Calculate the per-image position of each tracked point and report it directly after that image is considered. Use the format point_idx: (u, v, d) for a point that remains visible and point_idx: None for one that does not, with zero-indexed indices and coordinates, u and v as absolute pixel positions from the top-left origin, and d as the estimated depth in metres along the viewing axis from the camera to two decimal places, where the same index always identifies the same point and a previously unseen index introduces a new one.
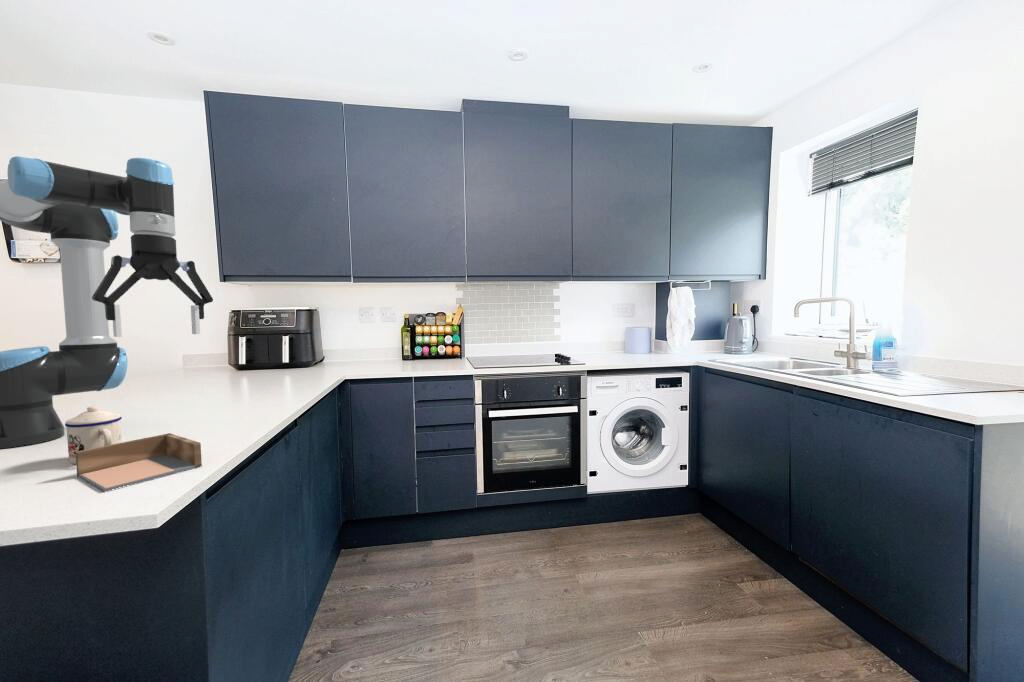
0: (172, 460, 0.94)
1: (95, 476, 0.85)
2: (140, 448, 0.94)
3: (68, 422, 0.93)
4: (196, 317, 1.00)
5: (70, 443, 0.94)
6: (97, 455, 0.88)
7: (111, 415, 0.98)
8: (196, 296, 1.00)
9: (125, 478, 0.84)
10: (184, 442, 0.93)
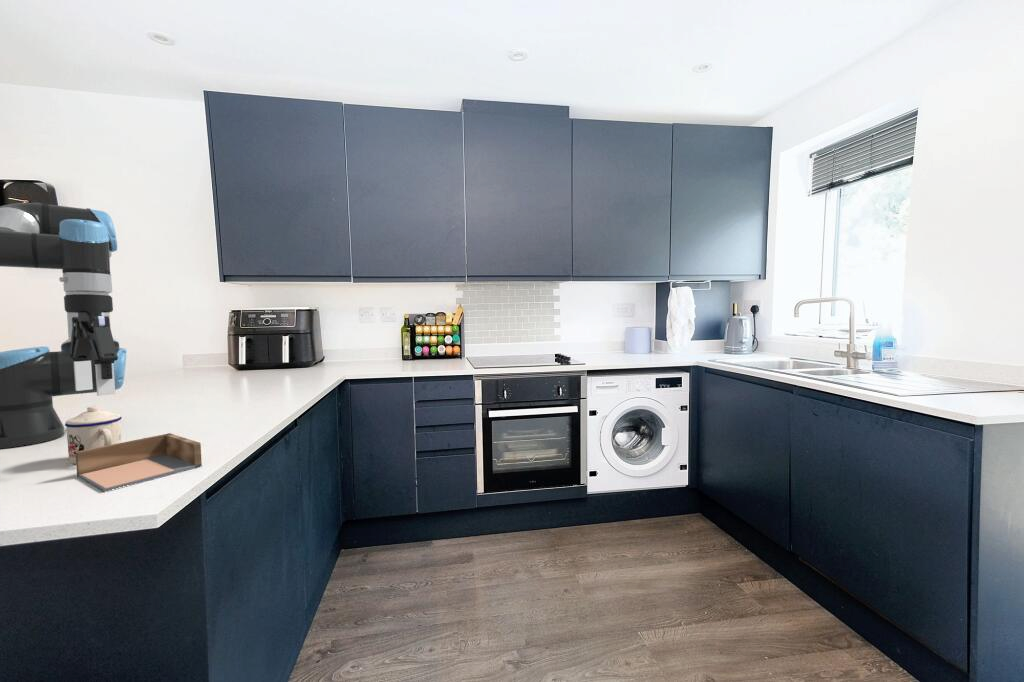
0: (172, 460, 0.94)
1: (95, 476, 0.85)
2: (140, 448, 0.94)
3: (68, 422, 0.93)
4: (96, 377, 0.91)
5: (70, 443, 0.94)
6: (97, 455, 0.88)
7: (111, 415, 0.98)
8: (96, 354, 0.91)
9: (125, 478, 0.84)
10: (184, 442, 0.93)
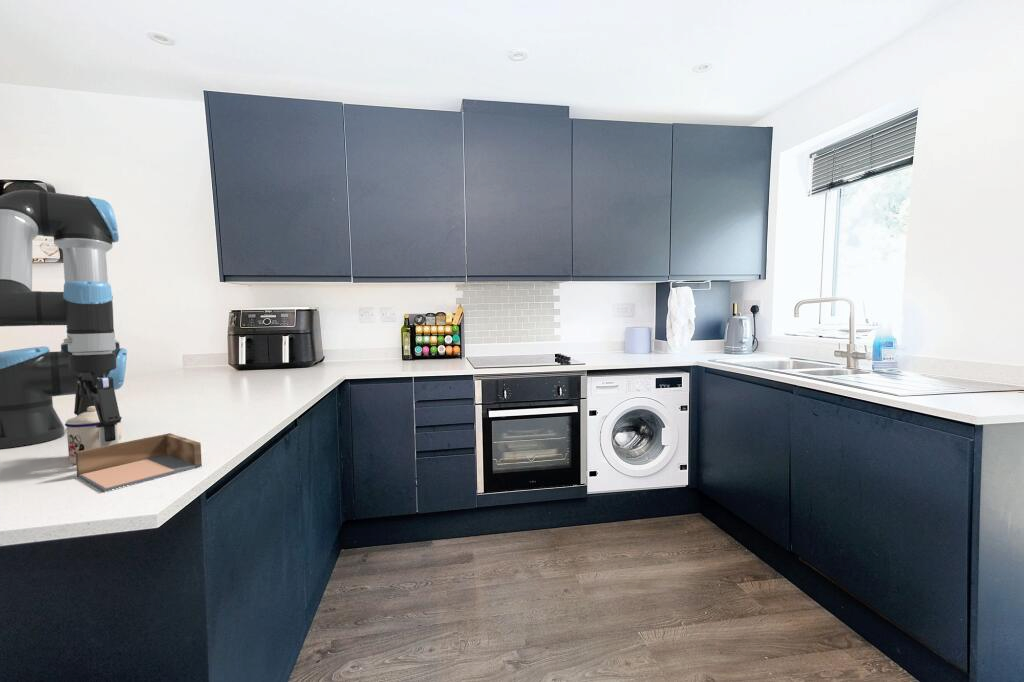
0: (172, 460, 0.94)
1: (95, 476, 0.85)
2: (140, 448, 0.94)
3: (68, 422, 0.93)
4: (99, 439, 0.92)
5: (70, 443, 0.94)
6: (97, 455, 0.88)
7: None
8: (99, 416, 0.92)
9: (125, 478, 0.84)
10: (184, 442, 0.93)
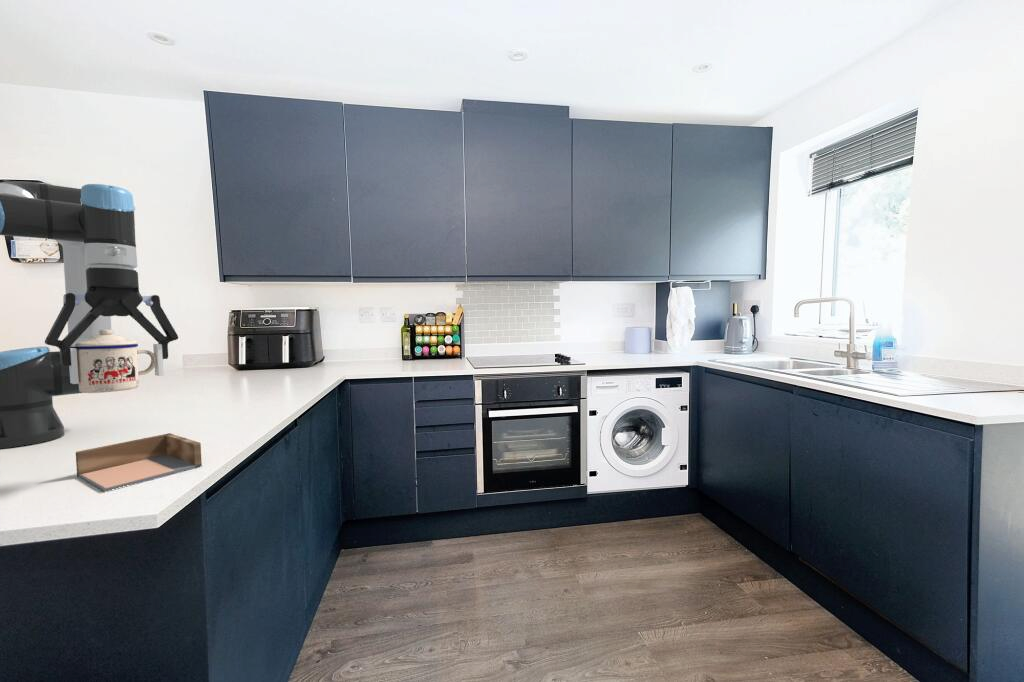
0: (172, 460, 0.94)
1: (95, 476, 0.85)
2: (140, 448, 0.94)
3: (116, 343, 0.83)
4: (159, 357, 0.91)
5: (121, 366, 0.84)
6: (97, 455, 0.88)
7: None
8: (159, 334, 0.91)
9: (125, 478, 0.84)
10: (184, 442, 0.93)
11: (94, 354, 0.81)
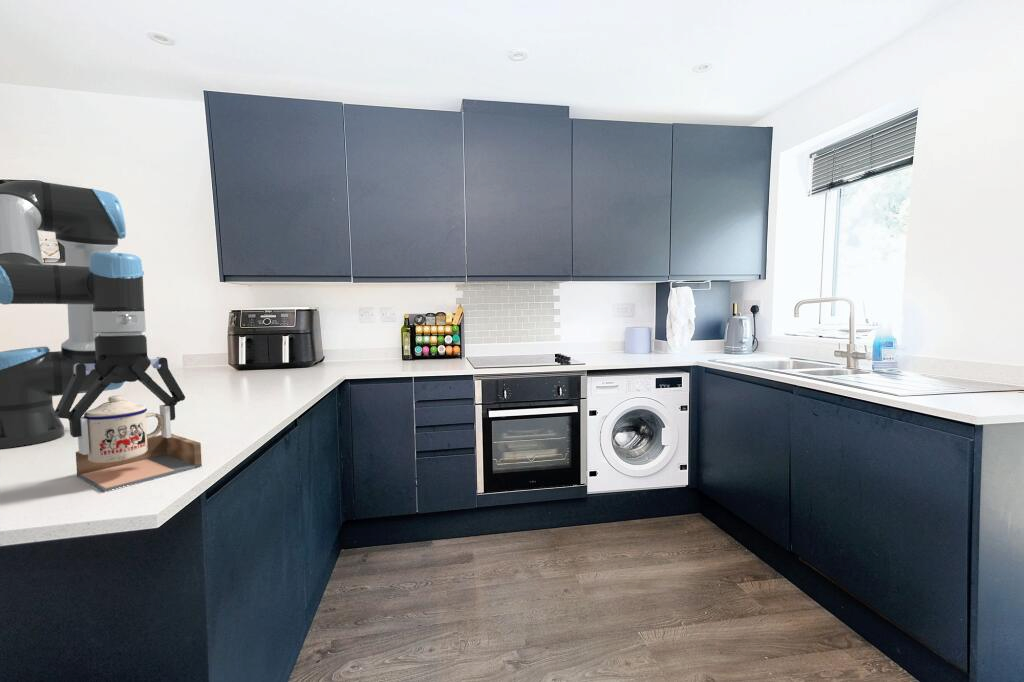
0: (172, 460, 0.94)
1: (95, 476, 0.85)
2: None
3: (128, 411, 0.83)
4: (167, 419, 0.91)
5: (132, 434, 0.84)
6: None
7: None
8: (166, 396, 0.91)
9: (125, 478, 0.84)
10: (184, 442, 0.93)
11: (106, 423, 0.81)
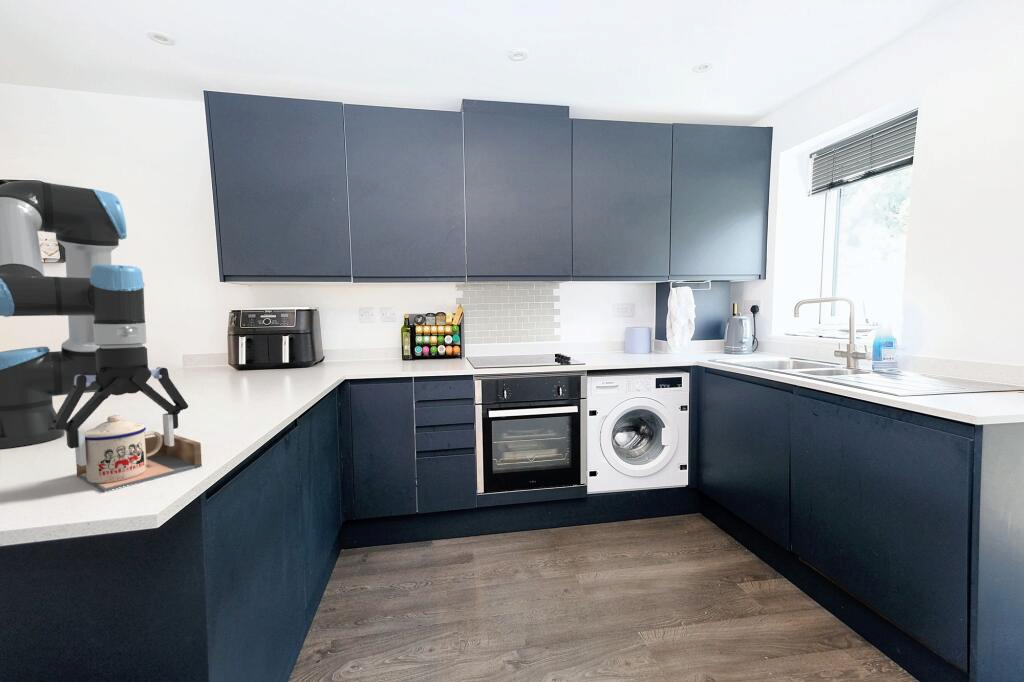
0: (172, 460, 0.94)
1: None
2: None
3: (127, 431, 0.83)
4: (170, 428, 0.91)
5: (131, 454, 0.84)
6: None
7: None
8: (169, 405, 0.91)
9: None
10: (184, 442, 0.93)
11: (105, 444, 0.81)
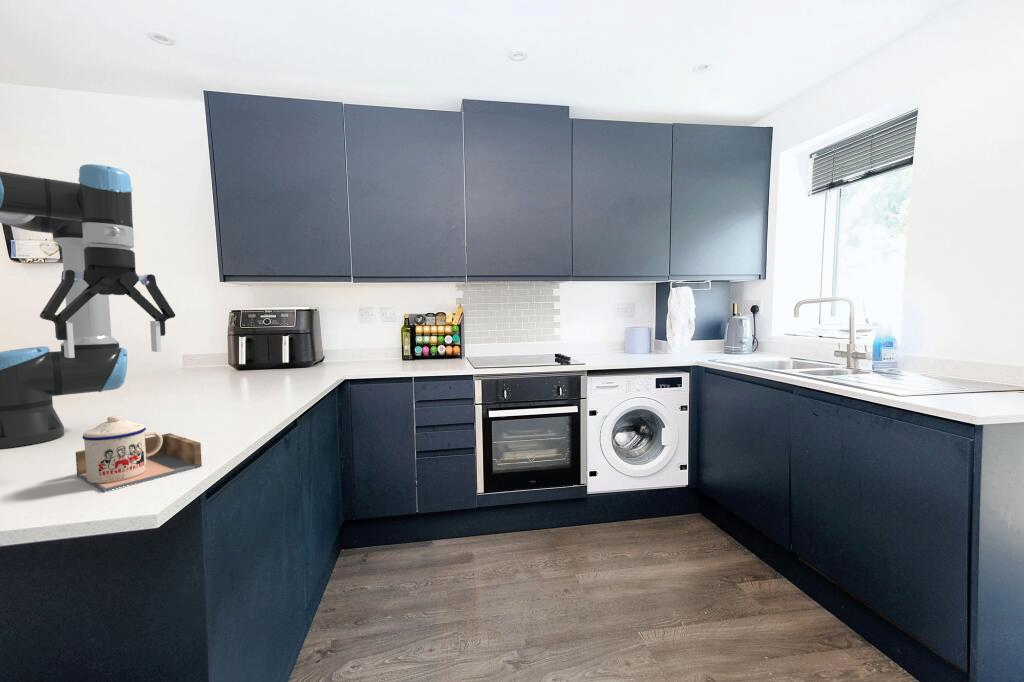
0: (172, 460, 0.94)
1: None
2: None
3: (127, 431, 0.83)
4: (157, 334, 0.94)
5: (131, 454, 0.84)
6: None
7: None
8: (156, 312, 0.94)
9: None
10: (184, 442, 0.93)
11: (105, 444, 0.81)
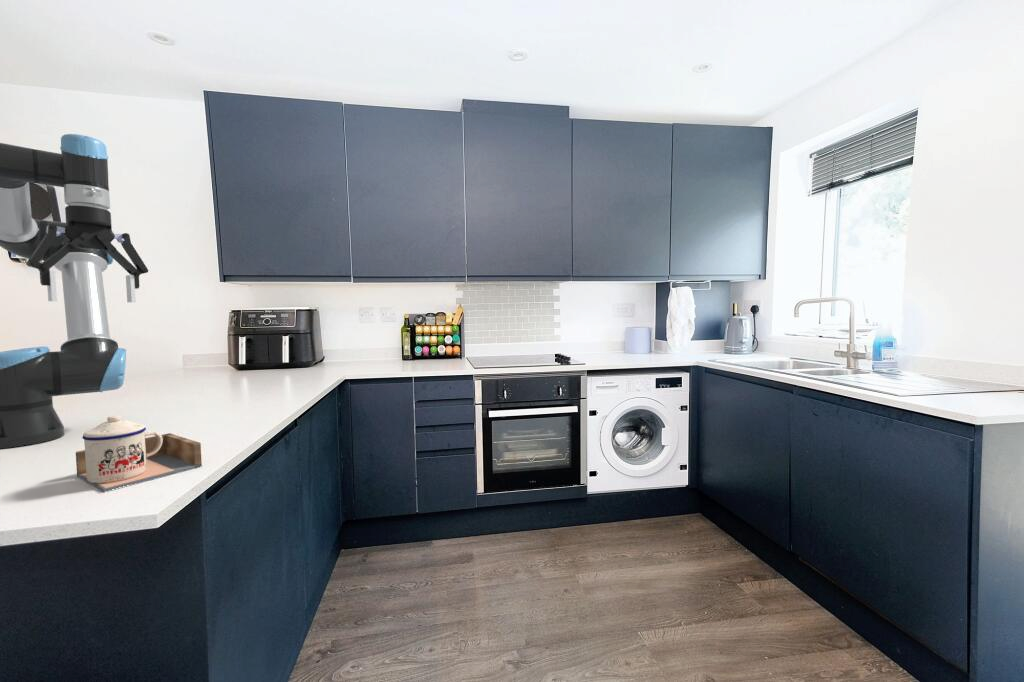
0: (172, 460, 0.94)
1: None
2: None
3: (127, 431, 0.83)
4: (131, 286, 1.06)
5: (131, 454, 0.84)
6: None
7: None
8: (131, 266, 1.06)
9: None
10: (184, 442, 0.93)
11: (105, 444, 0.81)
